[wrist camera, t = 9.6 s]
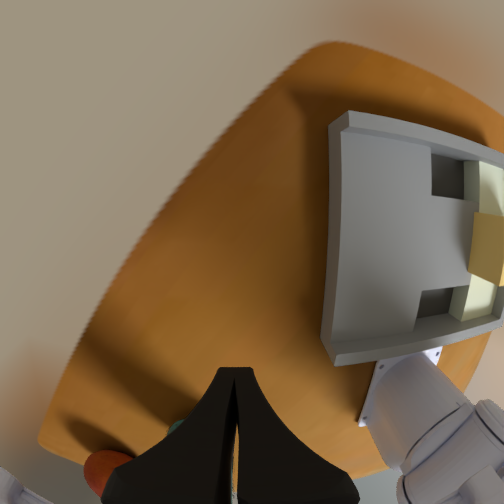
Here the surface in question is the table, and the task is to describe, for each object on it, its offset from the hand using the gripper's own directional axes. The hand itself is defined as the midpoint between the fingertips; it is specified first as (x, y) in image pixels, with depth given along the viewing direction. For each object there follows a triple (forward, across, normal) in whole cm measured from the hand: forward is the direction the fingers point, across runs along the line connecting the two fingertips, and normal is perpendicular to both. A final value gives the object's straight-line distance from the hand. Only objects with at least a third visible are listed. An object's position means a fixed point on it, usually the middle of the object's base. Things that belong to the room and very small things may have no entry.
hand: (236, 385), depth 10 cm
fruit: (+10, +16, +24) cm, 30 cm away
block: (+7, -21, -5) cm, 23 cm away
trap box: (+9, -16, -4) cm, 19 cm away
